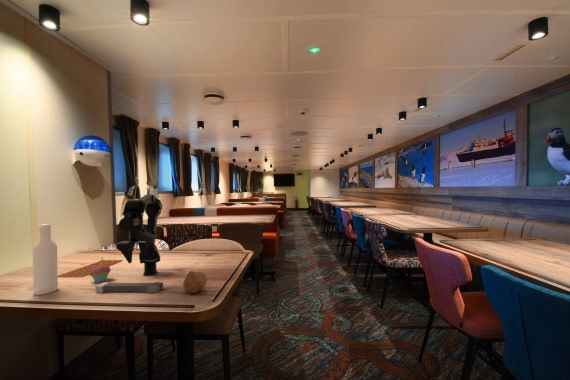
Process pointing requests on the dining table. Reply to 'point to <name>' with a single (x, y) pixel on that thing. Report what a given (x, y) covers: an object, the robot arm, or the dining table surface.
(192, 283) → the tan round lump
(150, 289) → the tongs base
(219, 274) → the dining table surface
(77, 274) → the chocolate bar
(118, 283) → the arm
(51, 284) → the bottle
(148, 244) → the robot arm
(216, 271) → the dining table surface
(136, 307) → the dining table surface
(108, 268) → the cupcake
